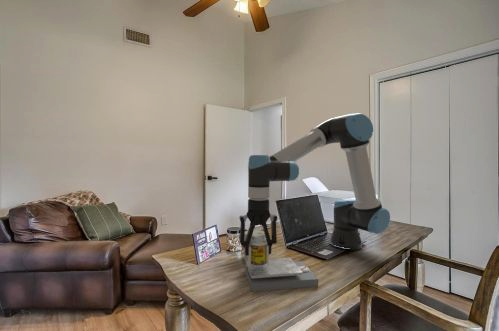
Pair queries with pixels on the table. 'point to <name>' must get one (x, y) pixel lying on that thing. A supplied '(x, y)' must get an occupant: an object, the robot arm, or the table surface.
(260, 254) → the supplement bottle
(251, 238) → the can
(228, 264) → the table surface
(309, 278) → the scale base
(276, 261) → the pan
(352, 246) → the robot arm
